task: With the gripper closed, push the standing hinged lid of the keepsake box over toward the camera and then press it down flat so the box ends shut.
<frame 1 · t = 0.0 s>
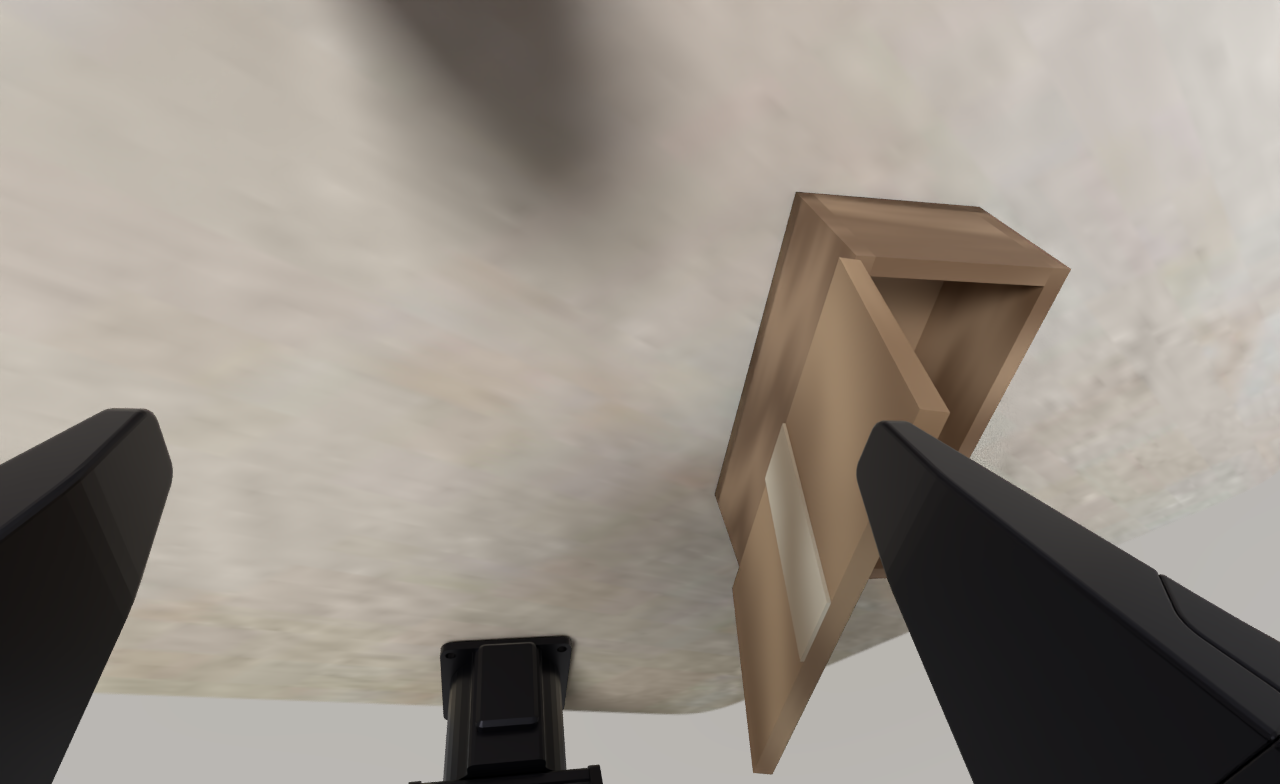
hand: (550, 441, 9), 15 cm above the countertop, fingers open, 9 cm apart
lid: (802, 530, 20), point 9 cm above the countertop, hinge at 100.0°
box: (831, 367, 28), on the countertop
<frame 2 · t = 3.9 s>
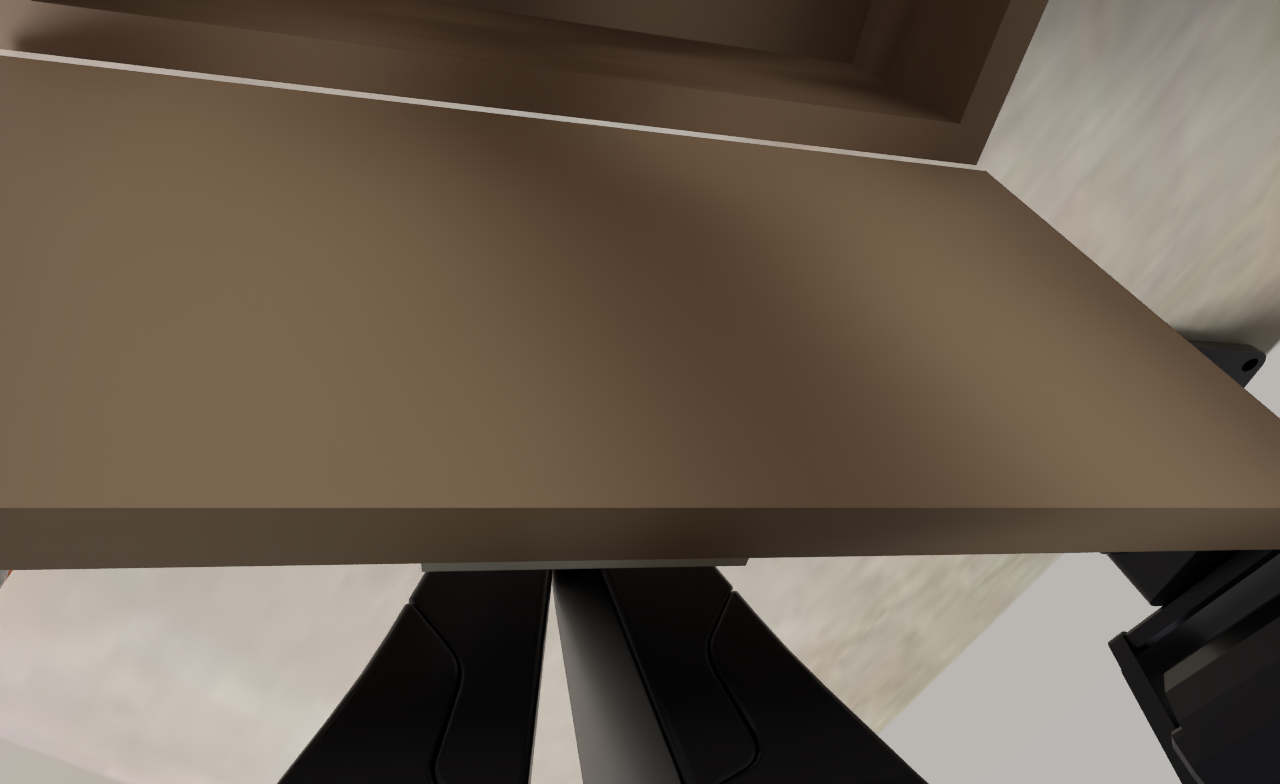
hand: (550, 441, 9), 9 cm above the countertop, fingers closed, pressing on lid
lid: (569, 273, 7), point 9 cm above the countertop, hinge at 94.8°, touching gripper
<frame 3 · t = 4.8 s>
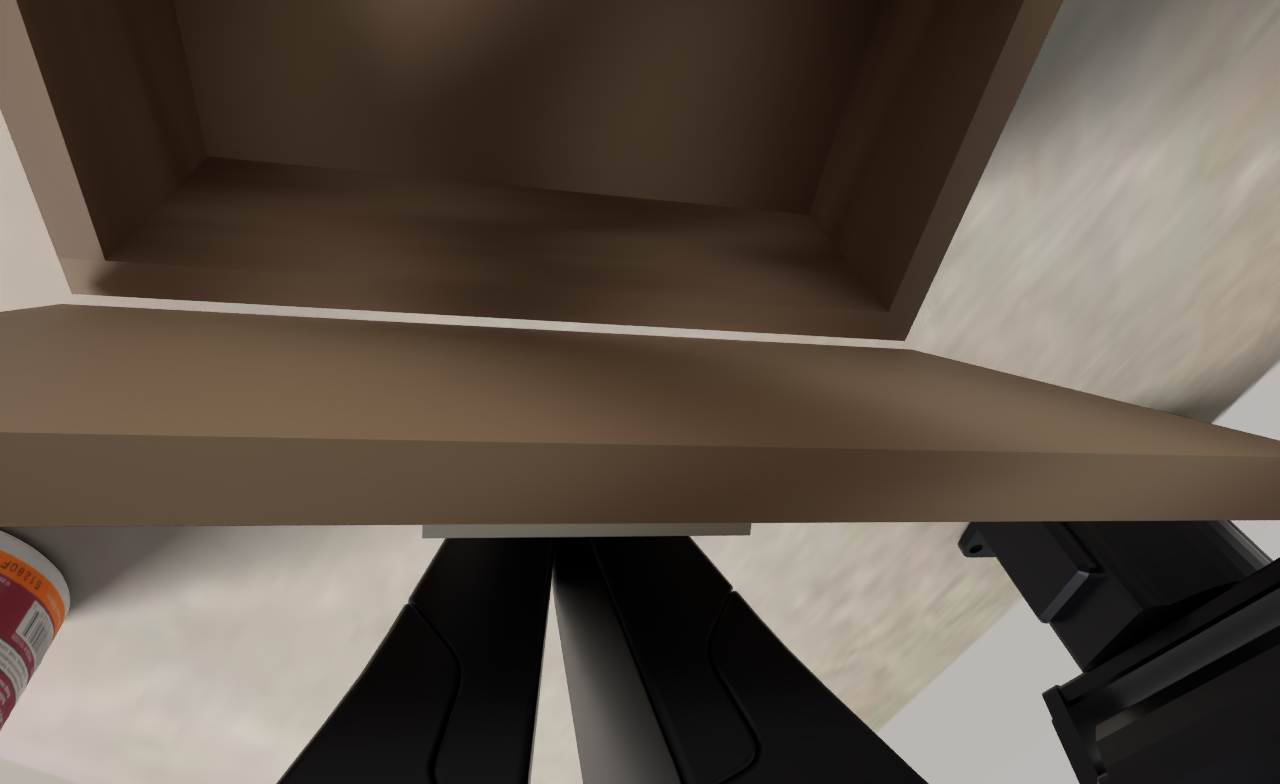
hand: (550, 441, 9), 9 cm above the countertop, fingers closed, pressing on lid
lid: (557, 392, 8), point 9 cm above the countertop, hinge at 63.6°, touching gripper
box: (544, 35, 14), on the countertop
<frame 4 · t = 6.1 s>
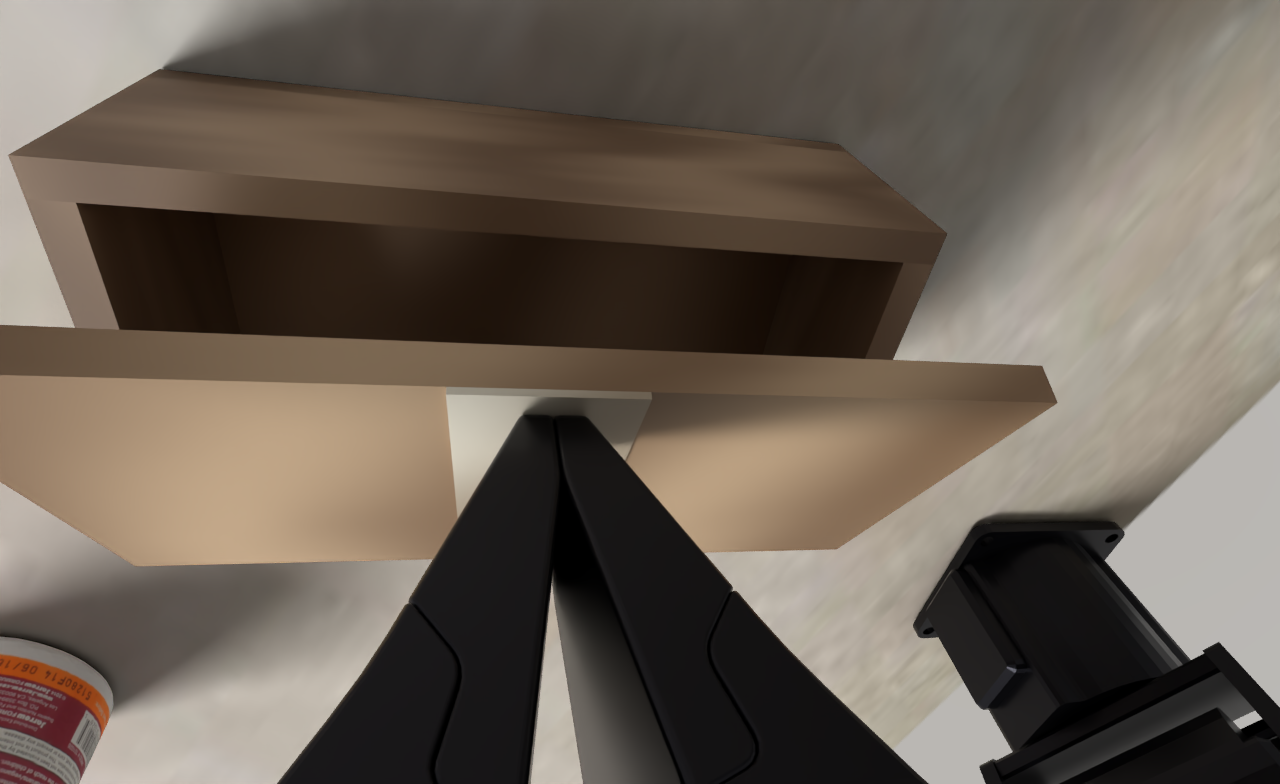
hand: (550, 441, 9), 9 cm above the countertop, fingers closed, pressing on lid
lid: (533, 481, 11), point 7 cm above the countertop, hinge at 24.2°, touching gripper
box: (525, 261, 16), on the countertop
pill bottle: (15, 678, 23), on the countertop
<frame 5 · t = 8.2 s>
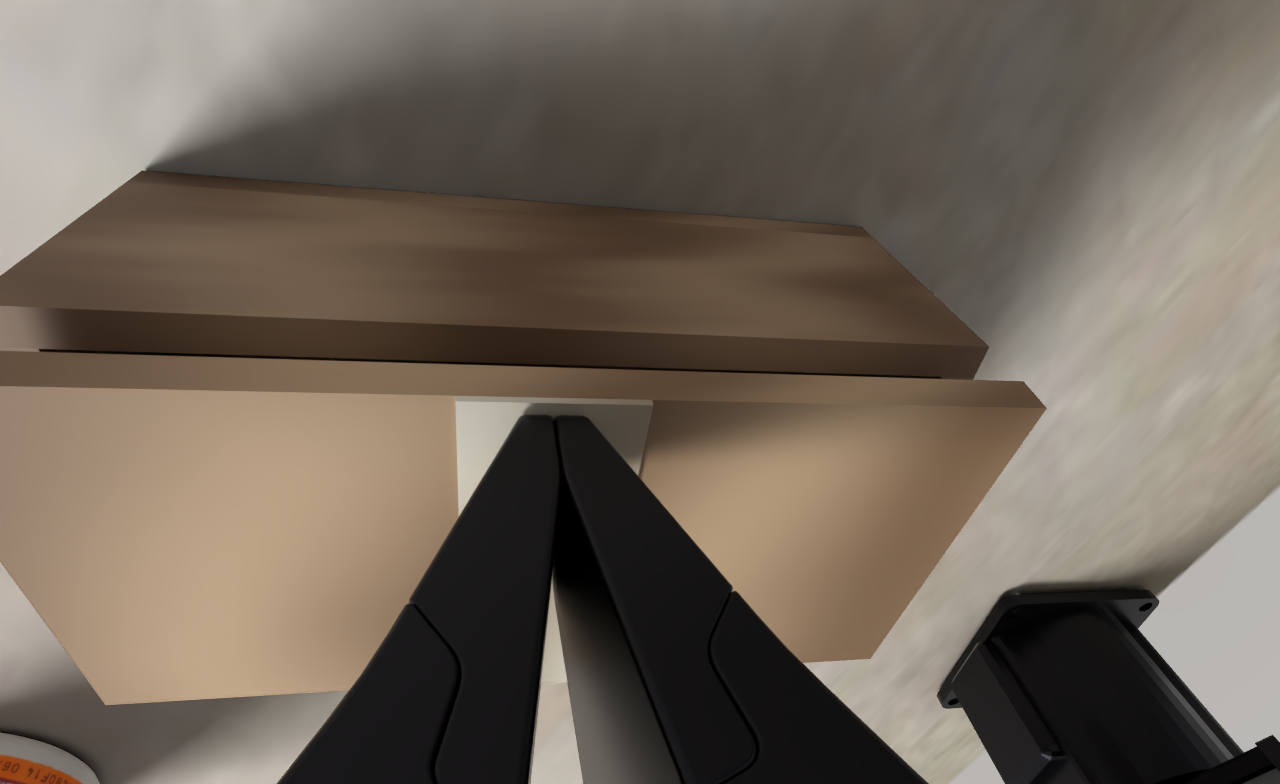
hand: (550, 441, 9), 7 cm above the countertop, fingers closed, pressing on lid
lid: (540, 554, 11), point 6 cm above the countertop, hinge at 5.3°, touching gripper
box: (530, 351, 16), on the countertop
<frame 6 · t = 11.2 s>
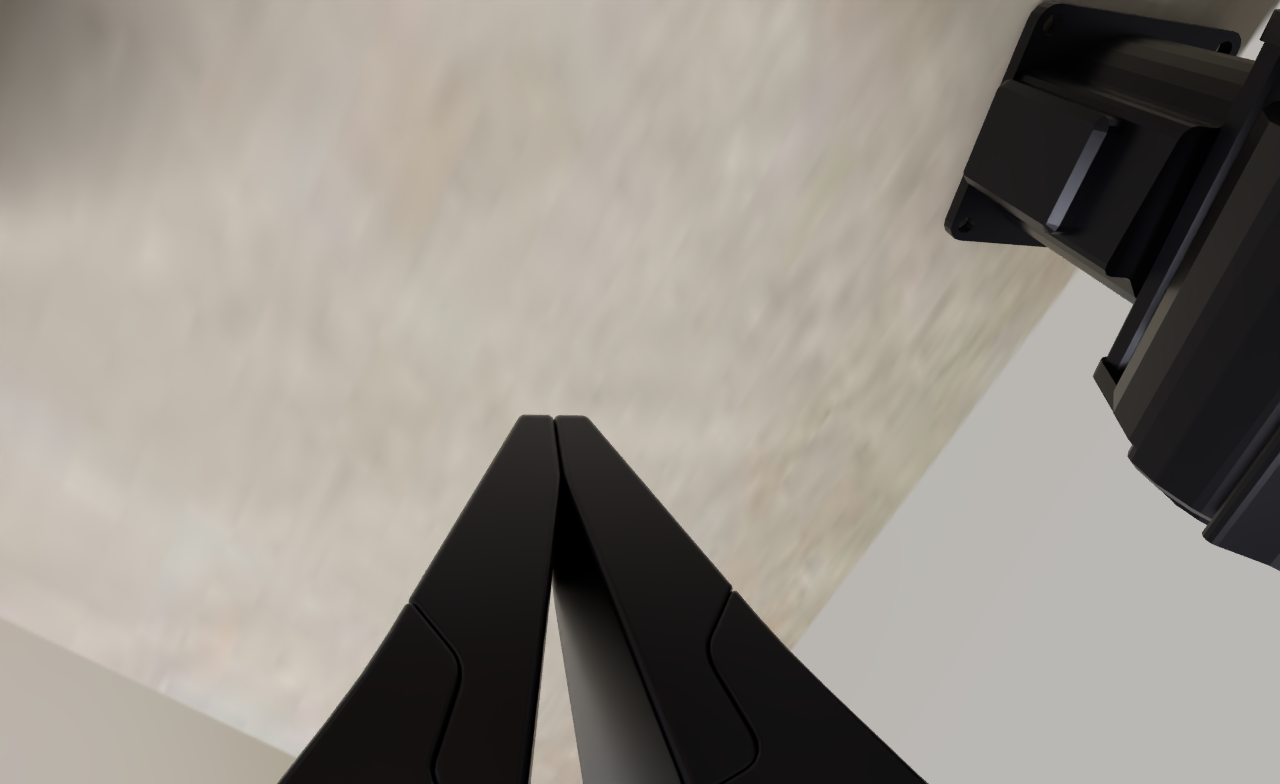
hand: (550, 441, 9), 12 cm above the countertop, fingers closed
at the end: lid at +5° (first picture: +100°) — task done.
